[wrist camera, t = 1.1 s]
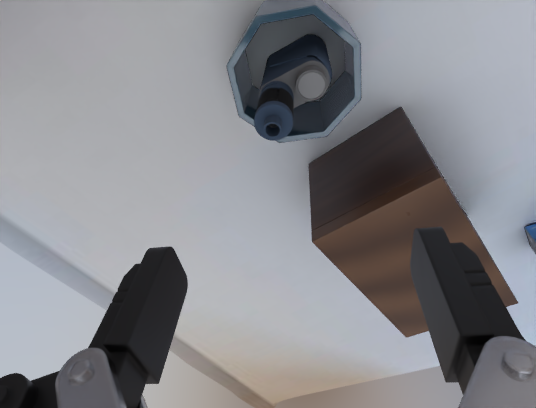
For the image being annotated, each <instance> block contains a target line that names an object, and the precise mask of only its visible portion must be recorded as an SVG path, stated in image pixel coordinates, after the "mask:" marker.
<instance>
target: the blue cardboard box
mask: <svg viewBox="0 0 536 408" xmlns="http://www.w3.org/2000/svg"><path fill="white" fill-rule="evenodd" d="M525 231H526V234H527V237H528V241H529V244H530V246H531V248H532V249H533V251H534V252H535V254H536V224H533V225H530V226H526V227H525Z"/></svg>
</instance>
